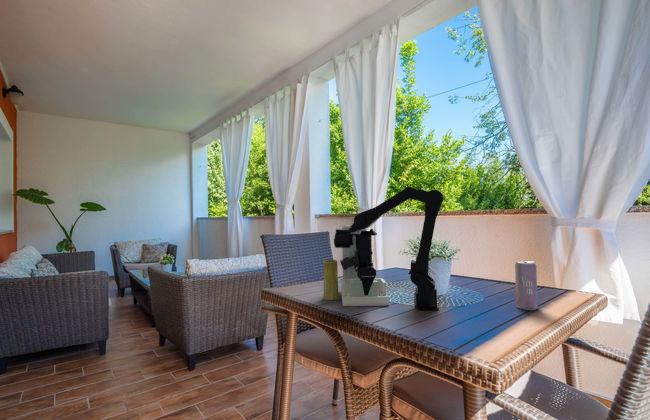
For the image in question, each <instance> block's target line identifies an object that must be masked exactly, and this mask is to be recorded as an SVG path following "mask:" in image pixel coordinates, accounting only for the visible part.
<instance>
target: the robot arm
mask: <svg viewBox="0 0 650 420" xmlns="http://www.w3.org/2000/svg"><path fill="white" fill-rule="evenodd" d="M409 200H413V201H417V202H421V203H424V219H423V226H422V231H421V236H420V242H419V247H418V252H417V257H416V259H415V260H413V259H412V260H411V261H410V269H409V272H408V275H409V277H410V281H411V283H412V284H413V285H415V286H416V287H415V292H414V293H413V298H414V299H413V303H414V304H413V305H414V306H415V307H416V308H417V309H418V310H419V311H430V310H432V311H433V310H435V311H437V310H438V311H439V310H440V307H438V289H437V288H436V281H435V279H433V278H432V277H431V276H430V274H429V258H430V252H431V248H432V247H431V246H432V241H433V236H434V232H435V231H434V230H435V225H436V220H437V218H438V214H439V212H440V211H441V207H442V204H443V202H444V195H443V193H442V192H441V191H440V190H439V189H431V190H424V189H419V188H413V187H410V186H406V187H405V188H403V189H402V190H401V191H399V192H397V193H396V194H394V195H393V196H391V197H389V198H388V199H386V200H385V201H383V202H382V203H380V204H379V205H376V206H375V207H372V208H369V209H367V210H364V211H361V212H359V213H357V214H356V215H354V216H353V223H352V225H350V226H351V227H350V229H349V230H342V228H338V229H335V233H334V234H335V235H334V239H333V245H334V248H335V249H342V248H351V247H352V245H354V244H355V241H356V250H355V255H352V256H350V257H346V258H344V259H343V258H341V259H339V262H340V265H341V267H342V271H343V270H346V269H347V268H349V267H352V266H354V270H355V271H356V272H357V277H358V278H359V279H360V281H362V286H363V291H364V295H365V296H367V295H368V293H369V291H370V288H371V286H372V283H373V281H374V279H375V278H376V277H377V269H376V268H375V267H374V263H373V253H374V252H373V246H372V245H373V243H372V241H373V240H372V236H378V233H377V232H376V230H374V228H370V227H371V226H372V225H374V224H375V223H376V222H377V221H379V219H380V218H381V217H382V216H383V215H385V214H387V213H389V212H391V211H392V210H394V209H396V208H397V207H399V206H401V205H402V204H404V203H405V202H407V201H409ZM369 228H370V229H369ZM361 229H366V231H361V234H353V232H357V231H360V230H361ZM367 229H369V230H367ZM356 268H357V269H356Z"/></svg>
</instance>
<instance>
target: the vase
mask: <svg viewBox="0 0 650 420" xmlns="http://www.w3.org/2000/svg"><path fill="white" fill-rule="evenodd" d="M338 274H339V273H338V260H336V259H325V260H323V296H322V299H323V300H325V301H337V300H339V298H340V294H339V293H340V292H339V280H338V279H339V278H338Z"/></svg>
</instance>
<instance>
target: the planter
mask: <svg viewBox="0 0 650 420" xmlns="http://www.w3.org/2000/svg"><path fill="white" fill-rule="evenodd" d="M351 226H352V225H342V226H341V230H349V229H350V227H351ZM361 231H367V229H361V230H360V231H357V232H353V234H361ZM341 249H342V259H344V258H346V257H350V256H352V255H355V250H356V241H355V244H354V245H352V247H351V248H341ZM356 269H357V268H356ZM342 279H359V278H358V277H357V272H356V271H355V270H354V266H352V267H349V268H347V269H346V270H343V269H342Z"/></svg>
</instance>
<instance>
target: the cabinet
mask: <svg viewBox="0 0 650 420" xmlns="http://www.w3.org/2000/svg"><path fill="white" fill-rule="evenodd" d="M340 280H341V282H340V286H341V294H340V295H341V302H342V305H341V306H343V307H358V306H359V307H360V306H361V307H365V306H366V307H368V306H370V307H371V306H390V301H389V300H390V297H389V295H387V282H386V281H385V279H384V278H380V277H379V278H376V277H375V279H374V281H378V296H351V295H350V281H360V279H343V278H341V279H340Z"/></svg>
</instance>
